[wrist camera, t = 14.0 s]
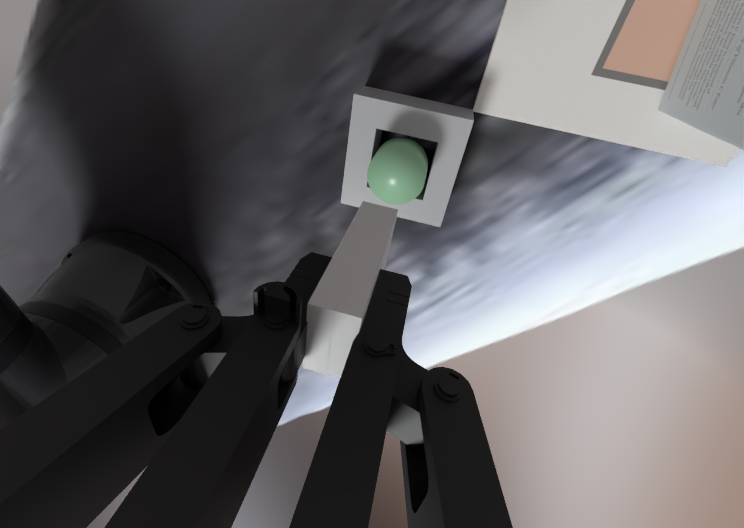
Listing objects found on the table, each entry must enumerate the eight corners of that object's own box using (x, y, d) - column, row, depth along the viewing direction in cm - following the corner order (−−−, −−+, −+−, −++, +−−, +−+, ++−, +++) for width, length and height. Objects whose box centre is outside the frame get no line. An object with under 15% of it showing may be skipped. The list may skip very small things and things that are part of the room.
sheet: (472, 109, 22) (472, 111, 22) (574, -219, 15) (578, -228, 14) (719, 163, 21) (726, 167, 21) (966, -161, 14) (985, -167, 13)
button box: (351, 186, 27) (340, 203, 25) (365, 85, 23) (353, 93, 21) (442, 208, 27) (440, 227, 24) (472, 109, 22) (474, 120, 20)
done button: (370, 183, 24) (363, 197, 22) (379, 131, 22) (372, 141, 20) (420, 195, 23) (417, 210, 22) (434, 144, 21) (431, 155, 20)
